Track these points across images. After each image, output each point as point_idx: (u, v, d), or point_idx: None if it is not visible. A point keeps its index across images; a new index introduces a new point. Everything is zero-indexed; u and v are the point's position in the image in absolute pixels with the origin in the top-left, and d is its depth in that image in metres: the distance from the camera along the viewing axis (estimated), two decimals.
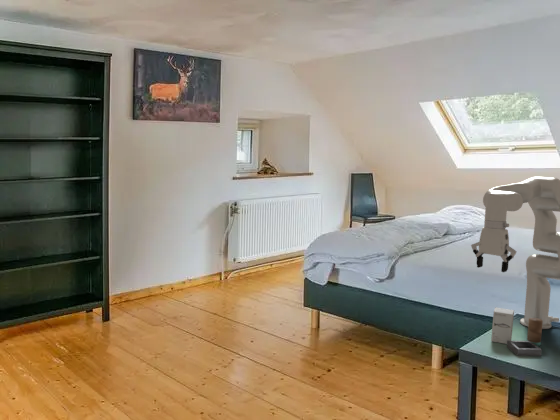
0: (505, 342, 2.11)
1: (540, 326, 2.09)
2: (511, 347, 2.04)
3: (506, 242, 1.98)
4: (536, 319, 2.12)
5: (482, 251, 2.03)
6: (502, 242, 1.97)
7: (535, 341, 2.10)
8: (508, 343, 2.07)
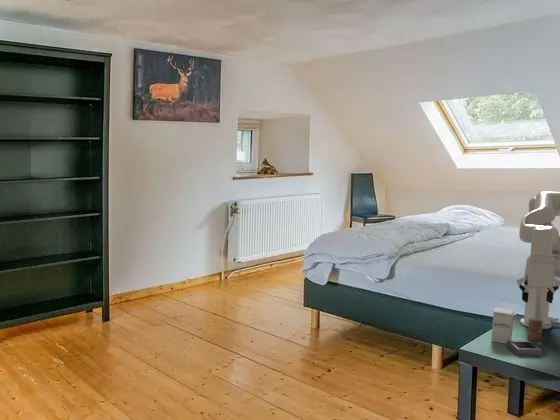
0: (505, 342, 2.11)
1: (540, 326, 2.09)
2: (511, 347, 2.04)
3: None
4: (536, 319, 2.12)
5: (533, 286, 2.07)
6: (552, 275, 2.07)
7: (535, 341, 2.10)
8: (508, 343, 2.07)
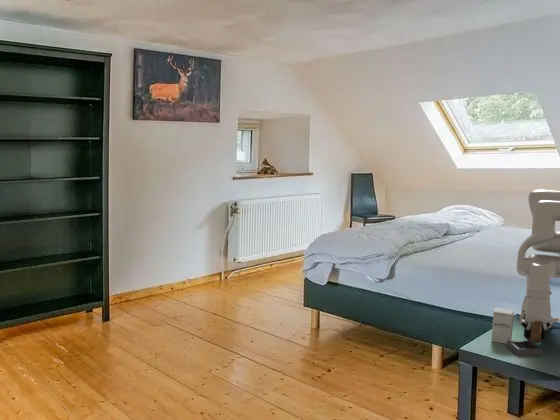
0: (505, 342, 2.11)
1: (540, 326, 2.09)
2: (511, 347, 2.04)
3: None
4: None
5: (530, 321, 2.09)
6: (549, 310, 2.09)
7: (535, 341, 2.10)
8: (508, 343, 2.07)
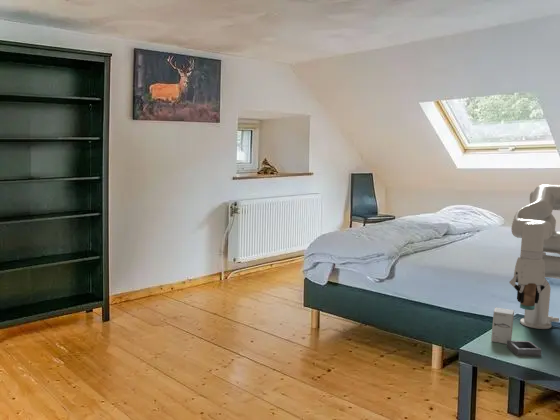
0: (505, 342, 2.11)
1: (534, 288, 1.99)
2: (511, 347, 2.04)
3: None
4: None
5: (523, 283, 1.99)
6: (544, 271, 1.99)
7: (529, 304, 2.00)
8: (508, 343, 2.07)
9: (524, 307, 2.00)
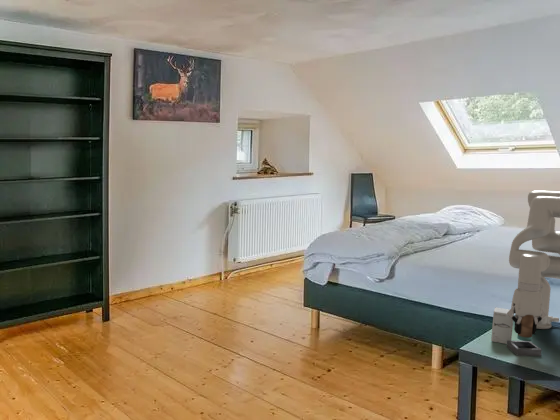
0: (505, 342, 2.11)
1: (531, 320, 2.00)
2: (511, 347, 2.04)
3: None
4: None
5: (520, 315, 2.00)
6: (541, 303, 2.00)
7: (526, 336, 2.01)
8: (508, 343, 2.07)
9: (521, 338, 2.02)
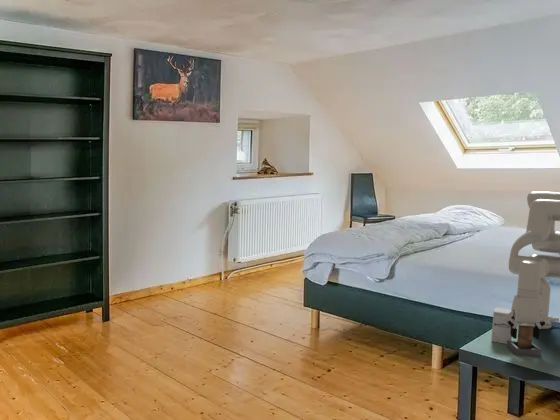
0: (505, 342, 2.11)
1: (530, 333, 2.01)
2: (511, 347, 2.04)
3: None
4: (526, 325, 2.03)
5: (520, 321, 2.01)
6: (540, 309, 2.00)
7: None
8: (508, 343, 2.07)
9: None
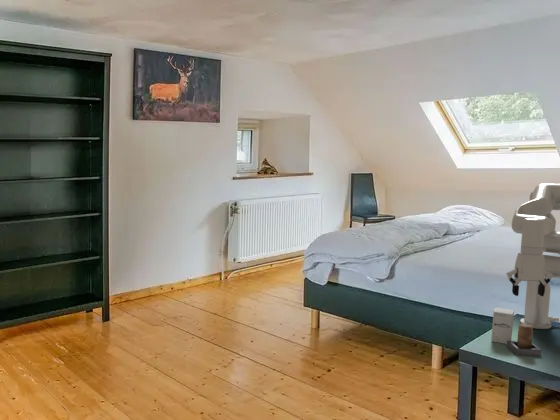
0: (505, 342, 2.11)
1: (530, 333, 2.01)
2: (511, 347, 2.04)
3: None
4: (526, 325, 2.03)
5: (523, 279, 1.99)
6: (544, 267, 1.99)
7: None
8: (508, 343, 2.07)
9: None
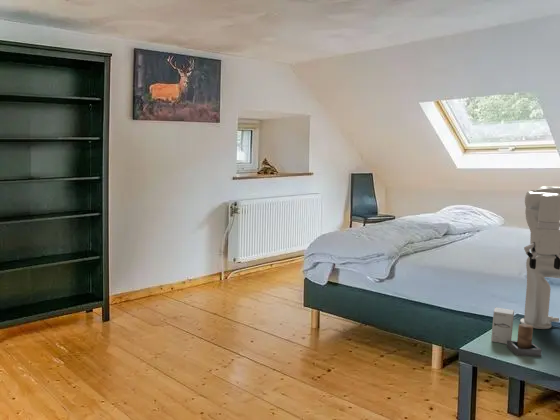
0: (505, 342, 2.11)
1: (530, 333, 2.01)
2: (511, 347, 2.04)
3: None
4: (526, 325, 2.03)
5: (540, 252, 2.08)
6: None
7: None
8: (508, 343, 2.07)
9: None
